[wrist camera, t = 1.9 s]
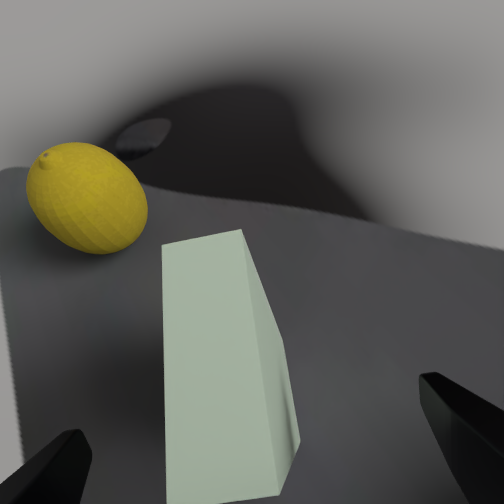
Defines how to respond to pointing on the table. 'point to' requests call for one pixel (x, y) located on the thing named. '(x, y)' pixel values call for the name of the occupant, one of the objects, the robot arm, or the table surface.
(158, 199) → the table surface
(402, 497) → the table surface
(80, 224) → the lemon
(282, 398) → the head tile
